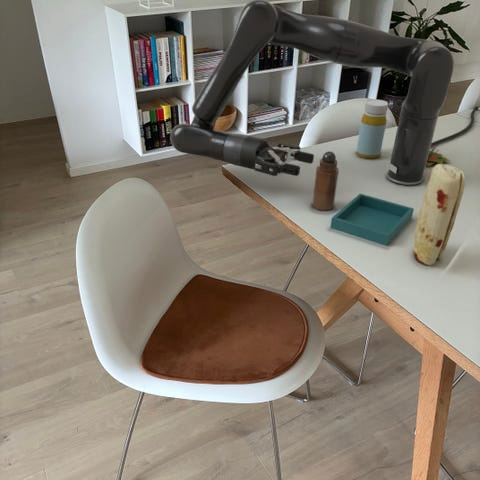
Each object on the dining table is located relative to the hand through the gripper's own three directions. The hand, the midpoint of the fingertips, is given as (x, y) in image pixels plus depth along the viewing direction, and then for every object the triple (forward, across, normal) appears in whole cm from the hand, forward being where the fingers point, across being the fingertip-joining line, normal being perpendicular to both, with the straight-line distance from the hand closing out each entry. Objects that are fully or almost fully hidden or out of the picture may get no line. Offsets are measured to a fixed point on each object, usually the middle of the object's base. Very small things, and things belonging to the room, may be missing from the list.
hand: (306, 165), depth 123 cm
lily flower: (+21, +45, +10) cm, 50 cm away
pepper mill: (+5, 0, +10) cm, 11 cm away
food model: (+32, -11, +10) cm, 36 cm away
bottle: (+5, +39, +10) cm, 41 cm away
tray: (+18, -2, +10) cm, 21 cm away
